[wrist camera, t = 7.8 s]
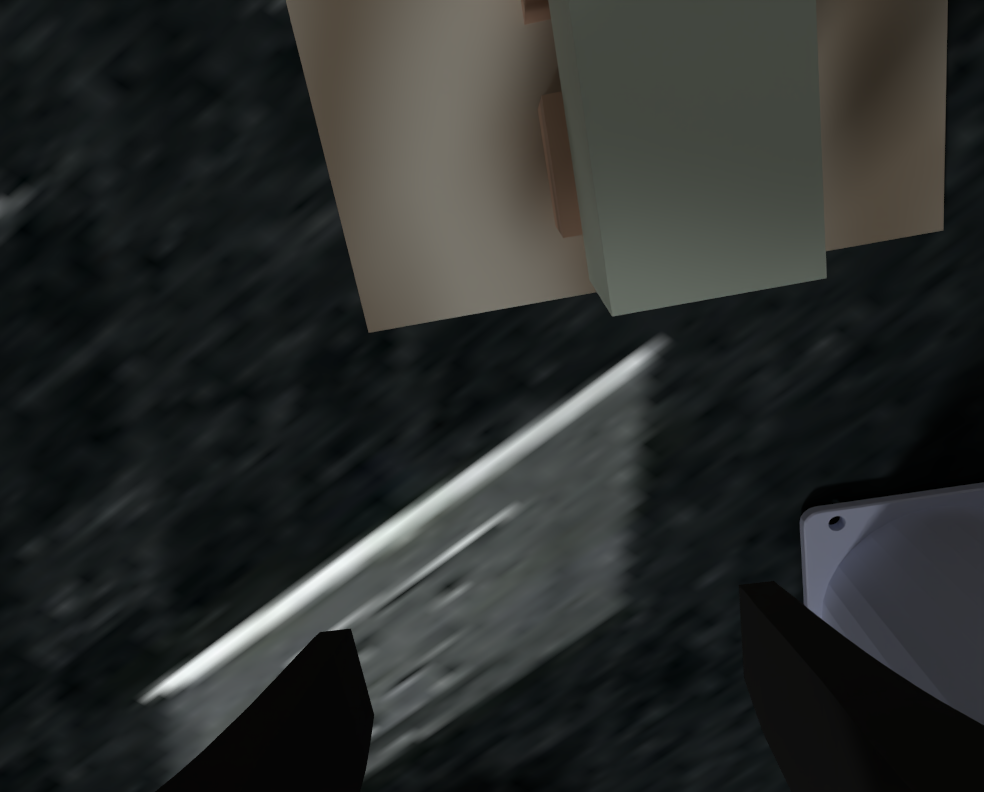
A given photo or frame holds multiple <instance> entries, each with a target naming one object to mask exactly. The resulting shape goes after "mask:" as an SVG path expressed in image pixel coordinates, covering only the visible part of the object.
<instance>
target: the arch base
mask: <svg viewBox="0 0 984 792" xmlns="http://www.w3.org/2000/svg"><path fill="white" fill-rule="evenodd" d="M286 3H287V7H288V11H289V15H290V19H291V23H292V27H293V31H294V35H295V39H296V43H297V47H298V51H299V55H300V59H301V63H302V67H303V71H304V75H305V79H306V83H307V87H308V91H309V95H310V99H311V103H312V107H313V111H314V115H315V119H316V123H317V127H318V131H319V135H320V139H321V143H322V147H323V151H324V155H325V159H326V163H327V167H328V171H329V175H330V179H331V183H332V187H333V191H334V195H335V199H336V203H337V207H338V211H339V215H340V219H341V223H342V227H343V231H344V235H345V239H346V243H347V247H348V251H349V255H350V259H351V263H352V267H353V271H354V275H355V279H356V283H357V287H358V291H359V295H360V299H361V303H362V307H363V311H364V315H365V319H366V323H367V327H368V331H369V332H375V331H381V330H386V329H392V328H397V327H403V326H409V325H414V324H420V323H425V322H431V321H437V320H442V319H448V318H453V317H459V316H465V315H470V314H476V313H482V312H487V311H493V310H498V309H504V308H510V307H515V306H521V305H526V304H532V303H538V302H543V301H549V300H554V299H560V298H566V297H571V296H577V295H583V294H588V293H594V292H597V291H596V290H595V288H594V287H593V285H592V283H591V282H590V280H589V273H588V266H587V260H586V253H585V246H584V239H583V232H582V226H581V219H580V212H579V205H578V199H577V192H576V185H575V178H574V171H573V165H572V158H571V151H570V144H569V137H568V131H567V124H566V117H565V110H564V104H563V97H562V90H561V83H560V76H559V70H558V63H557V56H556V49H555V42H554V36H553V29H552V22H551V15H550V9H549V2H548V0H286ZM947 14H948V0H816V16H817V42H818V68H819V94H820V120H821V146H822V172H823V198H824V224H825V250H826V251H829V250H835V249H841V248H846V247H852V246H858V245H863V244H869V243H874V242H880V241H886V240H891V239H897V238H902V237H908V236H914V235H919V234H925V233H930V232H936V231H942V230H943V217H944V166H945V115H946V64H947Z"/></svg>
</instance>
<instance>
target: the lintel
mask: <svg viewBox="0 0 984 792" xmlns="http://www.w3.org/2000/svg"><path fill="white" fill-rule="evenodd" d="M548 2H549V9H550V15H551V22H552V29H553V36H554V42H555V49H556V56H557V63H558V70H559V76H560V83H561V90H562V97H563V104H564V110H565V117H566V124H567V131H568V137H569V144H570V151H571V158H572V165H573V171H574V178H575V185H576V192H577V199H578V205H579V212H580V219H581V226H582V232H583V239H584V246H585V253H586V260H587V266H588V273H589V280H590V282H591V283H592V285H593V287H594V288H595V290H596V291H597V293H598V295H599V296H600V298H601V299H602V301H603V302H604V304H605V306H606V307H607V309H608V310H609V312H610V314H611V315H612V316H617V315H623V314H628V313H634V312H640V311H645V310H651V309H656V308H662V307H668V306H673V305H679V304H684V303H690V302H695V301H701V300H707V299H712V298H718V297H723V296H729V295H735V294H740V293H746V292H751V291H757V290H762V289H768V288H774V287H779V286H785V285H790V284H796V283H801V282H807V281H813V280H818V279H824V278H827V275H826V250H825V224H824V198H823V172H822V146H821V120H820V94H819V68H818V42H817V16H816V0H548Z"/></svg>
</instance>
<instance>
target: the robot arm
mask: <svg viewBox="0 0 984 792" xmlns="http://www.w3.org/2000/svg"><path fill="white" fill-rule="evenodd" d="M835 516H840V519H839V521H838V522H837V523H835V524H833V525H828V524H829V521H830V520H831V519H832V518H833V517H835ZM800 537H801V556H802V575H803V595H804V605H803V604H802V603H801V602H800V601H798V600H797V599H796V598H795V597H793V596H792V595H791V594H790V593H788V592H787V591H786V590H784V589H783V588H782V587H781V586H779V585H778V584H777V583H775V582H774V581H771V582H762V583H753V584H744V585H739V596H740V614H741V632H742V649H743V667H744V679H745V682H746V685H747V688H748V691H749V694H750V697H751V700H752V702H753V705H754V708H755V711H756V714H757V717H758V719H759V722H760V725H761V728H762V731H763V733H764V735H765V737H766V740H767V742H768V744H769V746H770V748H771V750H772V752H773V754H774V756H775V758H776V761H777V763H778V765H779V767H780V769H781V771H782V773H783V775H784V777H785V779H786V781H787V783H788V785H789V787H790V790H791V792H984V482H982V483H975V484H968V485H961V486H954V487H947V488H941V489H934V490H927V491H920V492H913V493H906V494H899V495H892V496H885V497H878V498H871V499H864V500H857V501H850V502H843V503H836V504H829V505H822V506H815V507H812V508H809V509H808V510H806V511H805V512H804V513H803V515H802V516H801V519H800ZM373 719H374V713H373V709H372V705H371V702H370V698H369V694H368V690H367V687H366V683H365V679H364V676H363V672H362V668H361V665H360V661H359V657H358V653H357V650H356V646H355V642H354V639H353V635H352V631H351V629H343V630H334V631H326V632H320V633H319V634H318V635H317V636H315V637H314V638H313V639H312V640H311V641H310V642H309V643H308V645H307V646H306V647H305V648H304V649H303V650H302V651H301V652H300V653H299V654H298V655H297V656H296V657H295V658H294V659H293V660H292V662H291V663H290V664H289V665H288V666H287V667H286V668H285V669H284V670H283V671H282V672H281V673H280V674H279V675H278V677H277V678H276V679H275V680H274V681H273V682H272V683H271V684H270V685H269V686H268V687H267V688H266V689H265V690H264V691H263V692H262V693H261V694H260V695H259V696H258V697H257V699H256V700H255V701H254V702H253V703H252V704H251V705H250V706H249V707H248V708H247V709H246V710H245V711H244V712H243V713H242V714H241V715H240V716H239V717H238V718H237V719H236V720H235V721H234V722H232V723H231V724H230V725H229V726H228V727H227V728H226V729H225V730H224V731H223V732H222V733H221V734H220V735H219V736H218V737H217V738H216V739H215V740H214V741H213V742H212V743H211V744H210V745H209V746H208V747H207V748H206V749H204V750H203V751H202V752H201V753H200V754H199V755H198V756H197V757H196V758H195V759H193V760H192V761H191V762H190V763H189V764H188V765H187V766H185V767H184V768H183V769H182V770H181V771H180V772H179V773H177V774H176V775H175V776H174V777H173V778H171V779H170V780H169V781H168V782H167V783H165V784H164V785H163V786H162V787H160V788H159V789H158V790H157V791H156V792H360V789H361V786H362V782H363V778H364V775H365V771H366V766H367V760H368V753H369V747H370V741H371V734H372V727H373Z"/></svg>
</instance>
